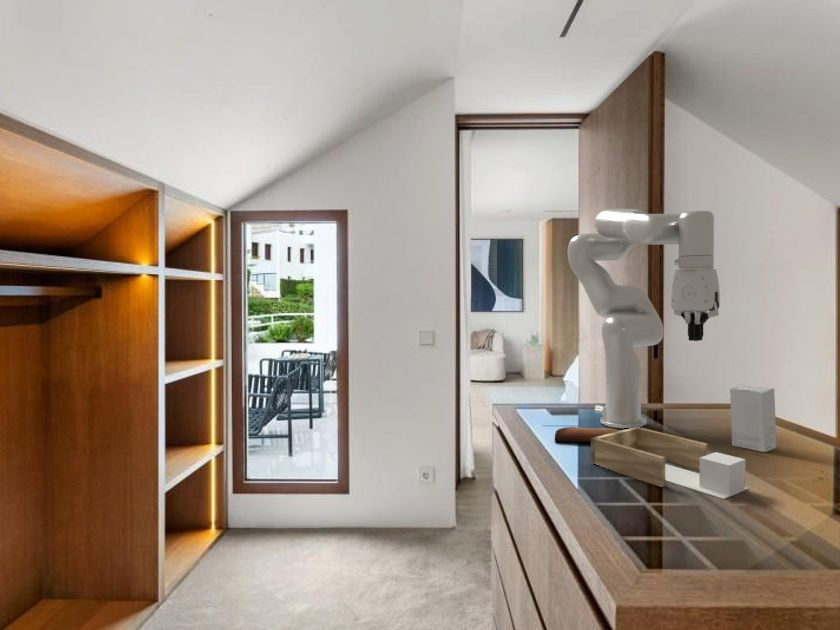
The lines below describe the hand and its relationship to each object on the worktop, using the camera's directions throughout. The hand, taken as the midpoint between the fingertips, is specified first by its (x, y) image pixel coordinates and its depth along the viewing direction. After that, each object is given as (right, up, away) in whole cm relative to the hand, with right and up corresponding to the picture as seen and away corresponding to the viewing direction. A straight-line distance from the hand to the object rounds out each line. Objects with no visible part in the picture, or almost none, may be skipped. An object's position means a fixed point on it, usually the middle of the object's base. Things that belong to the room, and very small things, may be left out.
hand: (695, 340), depth 138 cm
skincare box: (+16, -27, +3) cm, 31 cm away
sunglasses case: (-22, -28, +13) cm, 37 cm away
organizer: (-15, -28, -9) cm, 33 cm away
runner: (-11, -28, -15) cm, 34 cm away
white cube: (-6, -29, -23) cm, 37 cm away
